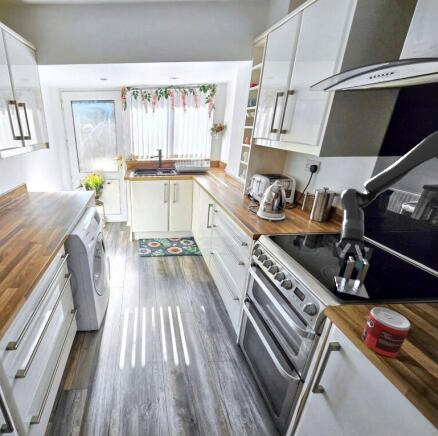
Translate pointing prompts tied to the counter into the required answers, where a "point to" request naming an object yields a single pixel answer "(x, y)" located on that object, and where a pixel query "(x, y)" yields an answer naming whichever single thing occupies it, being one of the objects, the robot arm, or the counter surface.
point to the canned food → (385, 331)
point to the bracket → (353, 285)
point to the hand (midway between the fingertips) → (349, 268)
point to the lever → (356, 265)
